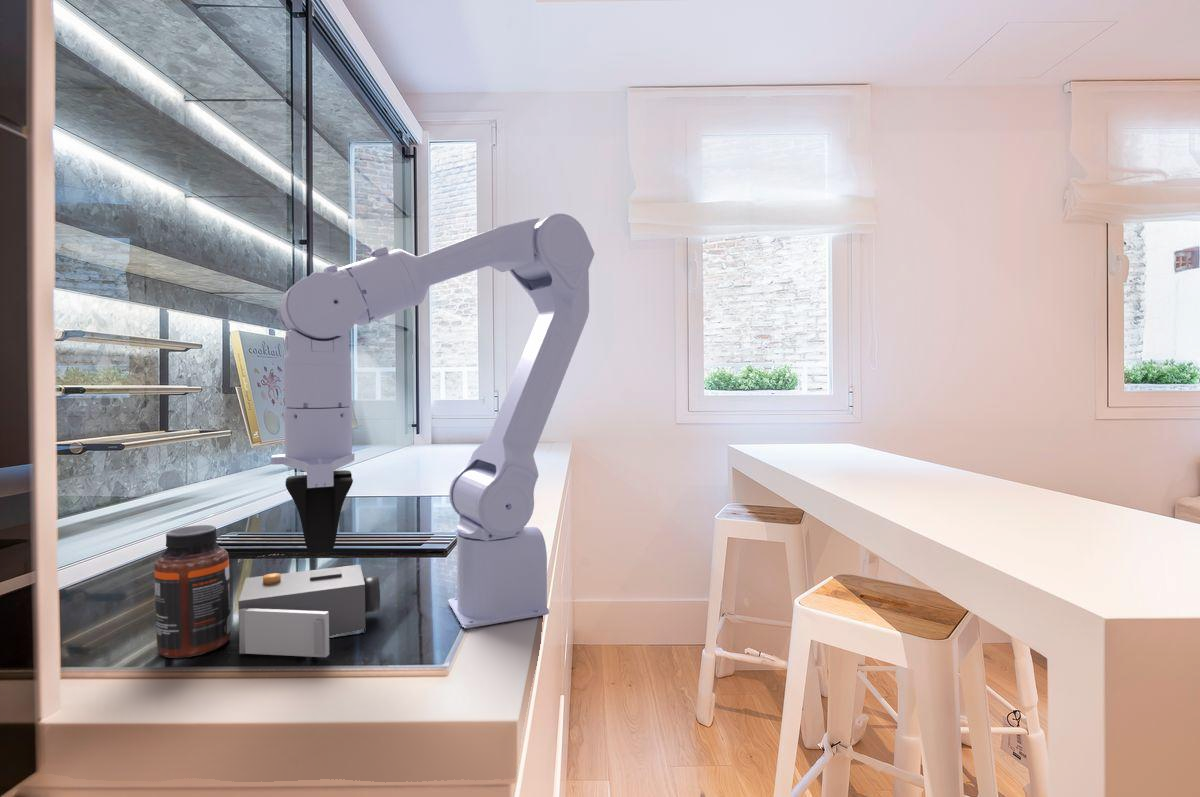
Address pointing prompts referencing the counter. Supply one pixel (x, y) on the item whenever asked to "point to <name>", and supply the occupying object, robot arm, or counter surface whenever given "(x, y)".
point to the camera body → (317, 595)
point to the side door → (284, 632)
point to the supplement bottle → (192, 593)
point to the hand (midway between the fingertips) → (320, 550)
